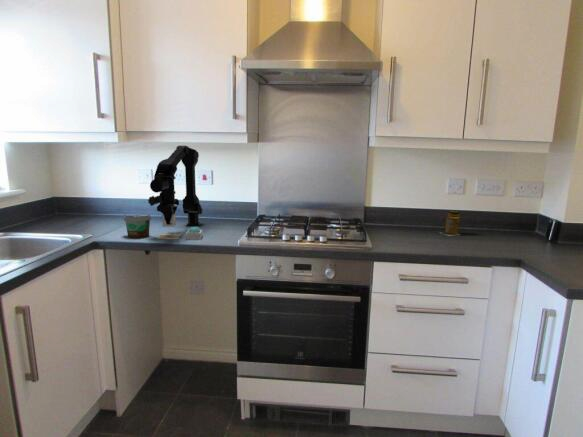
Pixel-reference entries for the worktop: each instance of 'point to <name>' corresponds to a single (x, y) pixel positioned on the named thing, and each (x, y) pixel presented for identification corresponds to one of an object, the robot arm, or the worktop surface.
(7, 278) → the worktop surface
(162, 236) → the birch tile
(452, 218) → the condiment
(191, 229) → the dome button
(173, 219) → the die
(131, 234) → the food container
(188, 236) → the dome base
